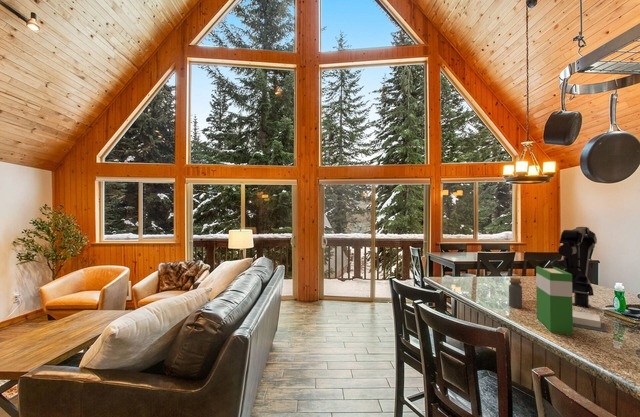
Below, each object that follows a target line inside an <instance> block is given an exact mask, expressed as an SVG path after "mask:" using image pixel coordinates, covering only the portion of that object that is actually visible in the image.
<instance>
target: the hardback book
mask: <svg viewBox="0 0 640 417" xmlns="http://www.w3.org/2000/svg"><path fill="white" fill-rule="evenodd" d="M535 270H536V271H535V272H536V274H535V276H536V277H535V279H536V283H535V284H536V319H538V320H539V321H540V322H541V323H542V324H543V325H544V326H545V327H546V328H547V329H548V330H549V331H550V332H554V333H553V334H558V333H559V334H560V335H567V334H568V335H569V336H573V335H574V333H573V332H574V330H573V328H574V326H573V311H574V310H573V305H572V304H573V293H572V274H570V273H568V272H565V271H564V269H560V268H559V267H558V268H556V267H552V268H543V267H541V266H538V265H537V266H536V268H535ZM539 321H538V322H539ZM540 322H539V323H540ZM541 323H540V324H541ZM542 324H541V325H542ZM543 325H542V326H543ZM544 326H543V327H544ZM545 327H544V328H545ZM546 328H545V329H546ZM547 329H546V330H547ZM548 330H547V331H548ZM549 331H548V332H549ZM550 332H549V333H550Z"/></svg>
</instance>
